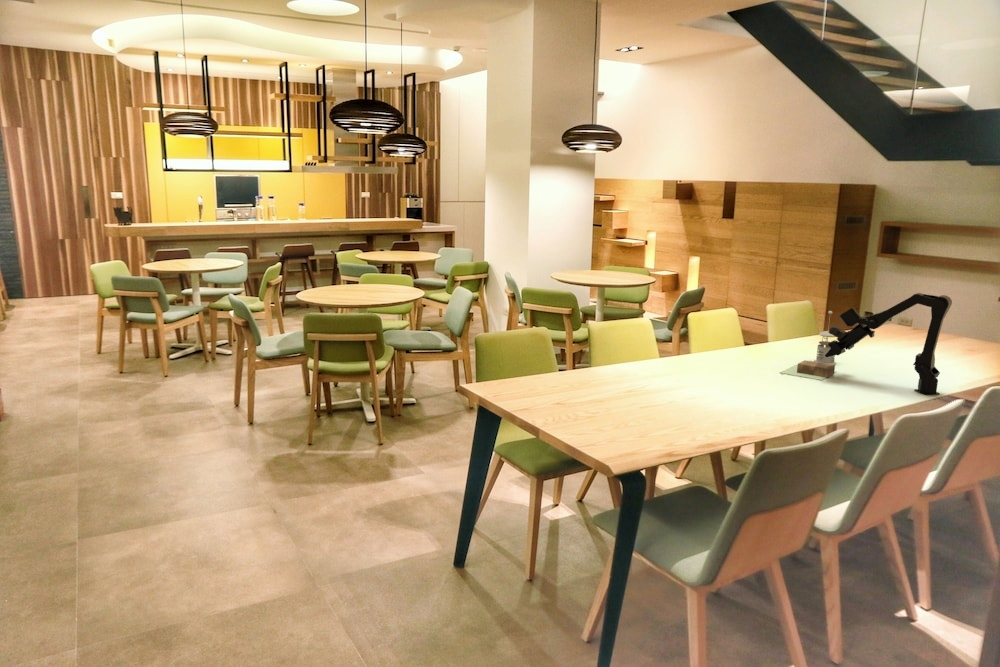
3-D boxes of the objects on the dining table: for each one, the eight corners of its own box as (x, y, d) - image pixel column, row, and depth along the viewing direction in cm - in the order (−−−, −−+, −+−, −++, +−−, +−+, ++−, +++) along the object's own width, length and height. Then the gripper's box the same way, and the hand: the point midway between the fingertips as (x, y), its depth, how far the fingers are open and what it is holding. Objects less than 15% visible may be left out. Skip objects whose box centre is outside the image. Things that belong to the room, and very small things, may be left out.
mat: (836, 372, 313) (836, 371, 312) (821, 380, 298) (821, 379, 298) (795, 365, 324) (796, 364, 324) (779, 373, 310) (779, 372, 310)
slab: (835, 365, 307) (804, 360, 316) (828, 368, 301) (797, 363, 309) (834, 373, 308) (804, 368, 317) (827, 377, 302) (796, 372, 310)
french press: (815, 364, 326) (821, 312, 321) (811, 358, 337) (816, 308, 332) (838, 365, 324) (844, 313, 319) (833, 360, 335) (838, 309, 330)
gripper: (849, 317, 305) (820, 338, 315) (835, 323, 292) (806, 345, 301) (866, 337, 301) (837, 358, 311) (853, 344, 288) (823, 365, 297)
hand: (825, 356), depth 305 cm, fingers closed
